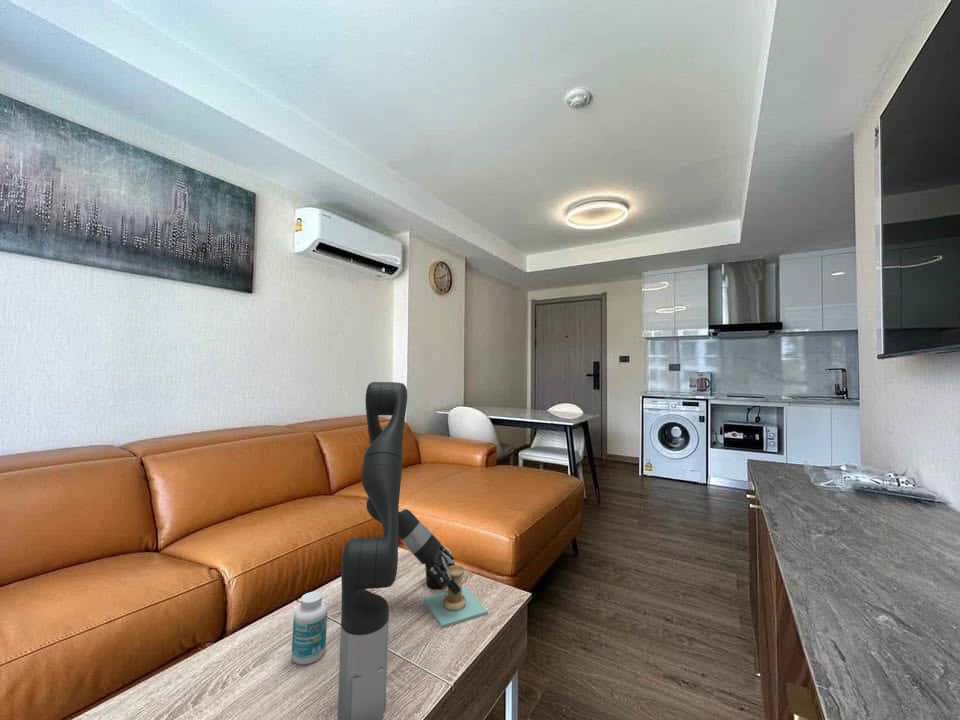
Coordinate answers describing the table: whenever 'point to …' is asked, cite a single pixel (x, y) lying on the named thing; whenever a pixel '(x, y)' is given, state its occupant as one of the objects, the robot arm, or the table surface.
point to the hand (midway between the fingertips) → (459, 583)
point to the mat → (453, 617)
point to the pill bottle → (309, 629)
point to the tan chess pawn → (452, 600)
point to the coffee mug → (429, 579)
